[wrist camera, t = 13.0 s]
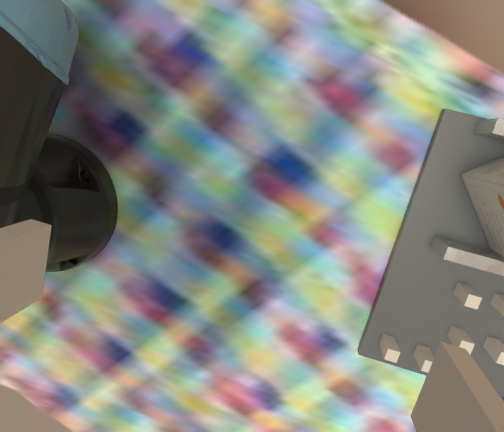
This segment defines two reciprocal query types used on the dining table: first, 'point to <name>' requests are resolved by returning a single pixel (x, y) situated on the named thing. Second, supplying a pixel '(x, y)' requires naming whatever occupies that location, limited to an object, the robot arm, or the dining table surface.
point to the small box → (488, 200)
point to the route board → (441, 266)
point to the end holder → (464, 251)
